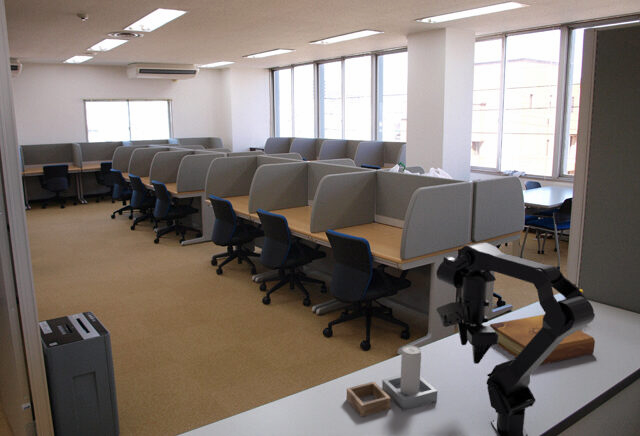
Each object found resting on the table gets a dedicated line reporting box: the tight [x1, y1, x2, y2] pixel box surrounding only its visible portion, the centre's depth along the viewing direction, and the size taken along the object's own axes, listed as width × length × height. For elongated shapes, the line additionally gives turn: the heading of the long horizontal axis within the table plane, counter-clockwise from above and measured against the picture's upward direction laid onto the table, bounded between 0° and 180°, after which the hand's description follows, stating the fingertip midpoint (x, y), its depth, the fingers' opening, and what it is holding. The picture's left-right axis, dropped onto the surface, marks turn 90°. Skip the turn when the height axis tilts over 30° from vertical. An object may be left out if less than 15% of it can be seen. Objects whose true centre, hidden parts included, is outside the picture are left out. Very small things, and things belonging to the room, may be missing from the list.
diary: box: [489, 313, 596, 366], centre depth 154 cm, size 23×19×6 cm
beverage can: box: [400, 344, 422, 396], centre depth 127 cm, size 5×5×12 cm
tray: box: [381, 374, 438, 412], centre depth 128 cm, size 10×10×3 cm
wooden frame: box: [346, 381, 392, 417], centre depth 125 cm, size 8×8×3 cm
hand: (469, 353), depth 123 cm, fingers open, 9 cm apart
